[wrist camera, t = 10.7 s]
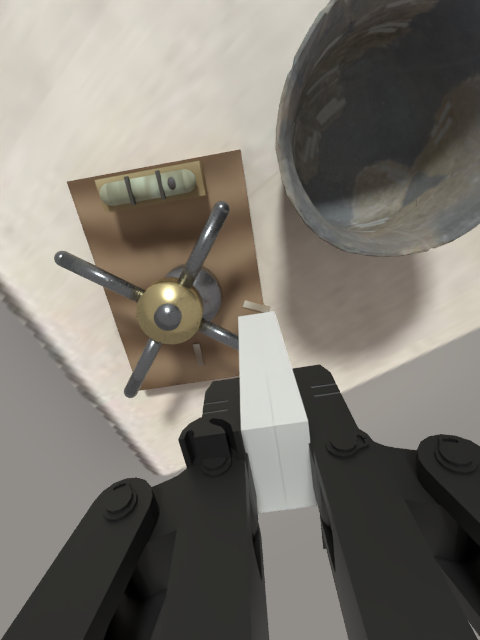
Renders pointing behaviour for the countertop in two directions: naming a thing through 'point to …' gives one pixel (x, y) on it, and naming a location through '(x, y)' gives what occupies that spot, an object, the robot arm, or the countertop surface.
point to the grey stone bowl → (385, 125)
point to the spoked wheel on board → (173, 252)
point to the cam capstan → (169, 298)
